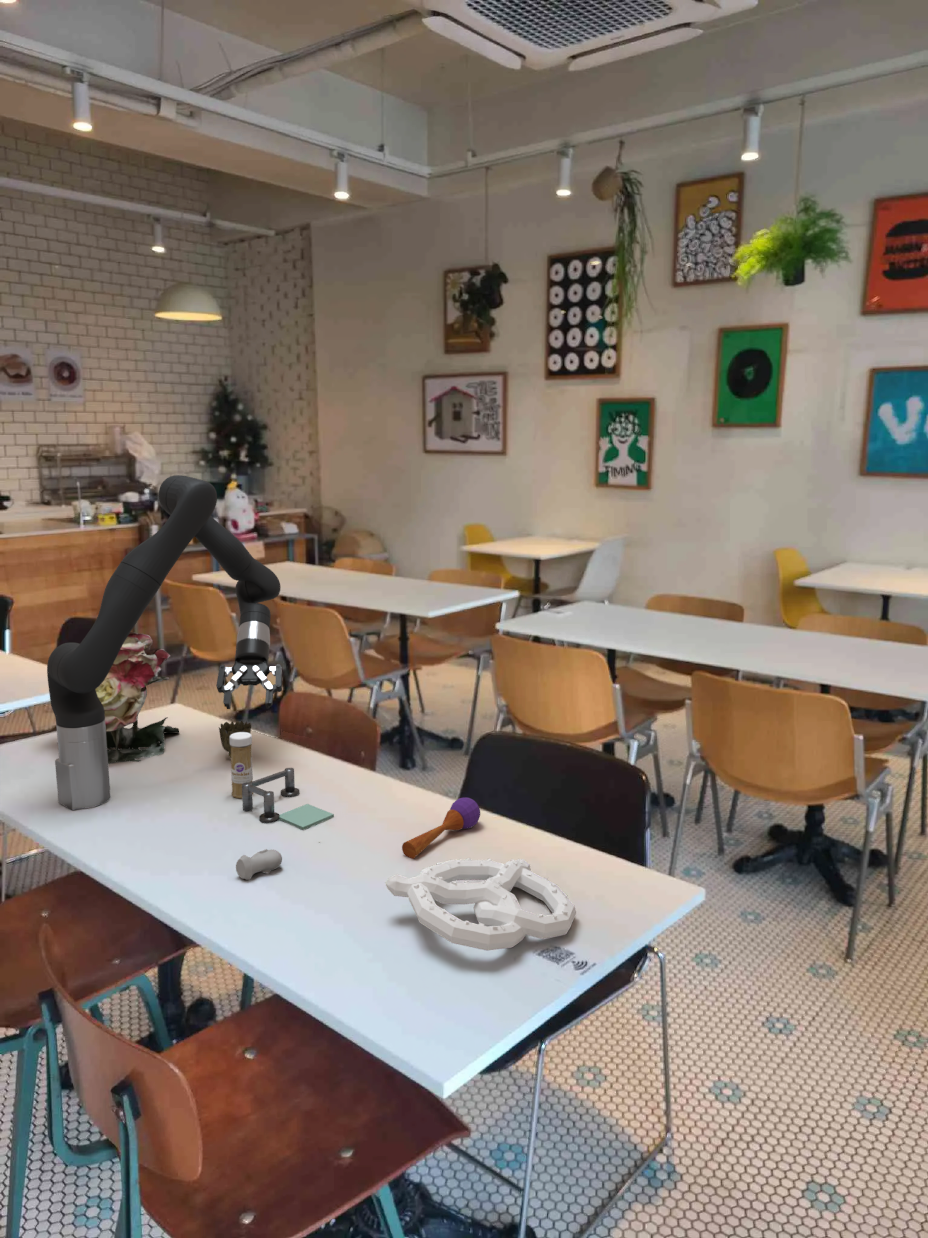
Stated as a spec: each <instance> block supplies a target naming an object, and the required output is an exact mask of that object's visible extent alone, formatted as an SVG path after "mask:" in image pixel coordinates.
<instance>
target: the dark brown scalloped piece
mask: <svg viewBox="0 0 928 1238" xmlns="http://www.w3.org/2000/svg"><path fill="white" fill-rule="evenodd" d="M218 730H219V736H220V742H221V745H222V748H223V750H225V752H227V753H228V757H229V758H230V759H231V746H230V735H231V734H233V733H237V732H247V733H250V734H251V735H252V733H251V732H252V731H251V730H252V723H251V722H248V721H246V722H245V723H244V721H243V720H240V721H239V720H237V721H236V722H234V721H233V720H232V721H231V722H228V721H226V722H224V723H220V727H219V726H218Z"/></svg>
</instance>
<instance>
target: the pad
mask: <svg viewBox="0 0 928 1238" xmlns="http://www.w3.org/2000/svg"><path fill="white" fill-rule="evenodd" d="M279 815H280V816H279V820H278V821H280V822H283V823H286V824H288V825H291V826H293V827H295V828H297V829H299V830H303V831H304V830H306V829H309V828H312V827H313V826H316V825H318V824H321V823H322V822H323V823H324V822H325V821H328V820H331V819H333V818H334V817H335V814H334V813H332V812H329V811H327V810H324V809H322V808H320V807H316V806H315V805H312V804H309V803H306V804H303V805H302V806H298V807H296V808H293V809H290V810H288V811H285V812H283V813H280V814H279Z"/></svg>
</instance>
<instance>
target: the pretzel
mask: <svg viewBox="0 0 928 1238" xmlns="http://www.w3.org/2000/svg"><path fill="white" fill-rule="evenodd" d="M530 865H531V864H530V863H529V862H528V861H526V859H524V858H517V859H513V858H511V859H510V860H508V861H506V862H505V863H502V862H499V861H495V860H493V859H491V858H490V857H489V858H487V859H472V858H471V857H469V858H468V857H467V858H466V859H461V858H459V859H450V860H446V861H443V862H441V861H439V862H436V863H435V864H434V865H431V866H427V867H425V868H422V870H421V871H420V873H419V875H416V876H413V877H407V876H404V875H400V874H398V873H396V874H394V875H392V876H390V877H388V878H387V880H386V881H385V882H384V883H385V886H386V888H387V890H388V891H389V892H390V893H391V895H393V897H402V898H408V900H409V903H410V906H411V907H412V909H413V911H414V914H415V916H416V918H417V920H418V922H419V923H420V924H421V925H423V926H424V927H426V928H427V929H429V930H430V931H431V932H433V933H435V934H437V935H438V936H441V938H444V939H445V941H448V942H450V943H451V944H455V945H459V946H464V947H468V948H474V949H478V950H483V951H495V950H502V949H510V948H513V947H515V946H516V945H517V944H520V942H521V941H524V939H525V937H526V935H527V936H529V937H530V936H531V937H533V938H536V939H541V940H545V939H551V938H555V937H560V936H565V935H567V933H568V931H570V929H571V926H572V924H573V921H574V919H575V917H576V916H577V909H576V906H575V904H574V902H572V900H571V899H570V897H568V895H567V893H566V892H564V890H562V888H561V887H560V886H559V885H558V884H556V883H555V882H553V881H551V880H549V877H543V876H541V875H539V874H537V873H535V872H534V871H533V870H531V866H530ZM457 881H463V882H457ZM469 881H480V882H469ZM514 887H515V888H518V889H520V890H522V891H524V892H526V893H528V894H530V895H532V896H533V897H536V899H539V900H541V901H543V902H544V904H545V905H546V906H547V908H548V909H549V910H550V912H551V914H547V915H544V914H543V913H540V914H537V913H534V912H531V911H527V910H526V909H523V908H522V906H521V904H520V903H519V901H518V899H517V897H516V895H515V894H514V893H512V892H511V891H512V889H513V888H514ZM436 901H437V903H440V904H441V905H471V904H473V912H474V915H475V917H476V921H477V922H478V923H473V922H470V921H469V920H462V919H460V918H458V916H455V915H453V914H452V913H451V912H448V911H447V910H446V909H445V908H444V909H443V908H442V907H441V906H439V905H437V904H436Z"/></svg>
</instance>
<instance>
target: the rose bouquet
mask: <svg viewBox="0 0 928 1238" xmlns="http://www.w3.org/2000/svg"><path fill="white" fill-rule="evenodd" d="M152 645H153V639H152V637H151V636H150V634H149V635H148V634H144V633H137V632H135V631H134V632H133V631H131V632H130V633H129V635H128V636H127V638H126V640H125V642H124V643H123V645H122V647H121V649H120V651H119V653H118V655H117V657H116V659H115V661H114V663H113V665H112V667H111V669H110V671H109V673H108V675H107V676H106V678H105V680H104V681H103V682H102V683H101V685H100V686H99V687H97V688H96V693H97V696H98V698H99V700H100V702H101V703H102V705H103V707H104V712H105V725H106V740H107V753H108V765H110V764H115V763H123V762H127V763H128V762H132V763H133V762H134V763H135V762H141V761H142V760H141V759H139V758H152V757H156V756H161V755H164V753H165V746H166V744H165V734H171V733H172V734H173V733H175V734H180V729H179V728H178V727H173V726H170V725H166V726H164V725H165V721H167V719H168V718H169V717H168V716H167V717H166V716H165V717H164V718H163V719H162V720H159V721H156V722H153V723H150V724H148V725H146V726H143V727H139V726H138V724H139V722H138V719H139V714H140V712H141V710H142V708H143V706H144V705H145V701H146V699H147V696H148V689H147V686H149V685H151V684H154V683H160V682H162V681H163V680H164V681H165V680H168V681H169V680H170V678H169V677H168V676H162V675H159V674H160V673H161V672H162V671H161V670H163V668H162V667H161V665H163V663H164V662H165V661H167V659H169V658H170V657H171V655H170V654H169V652H167V651H166V650H165V649H164V648H156V649H154V650H151V646H152ZM131 724H132V726H131V727H130V728H126V726H129V725H131Z"/></svg>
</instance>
